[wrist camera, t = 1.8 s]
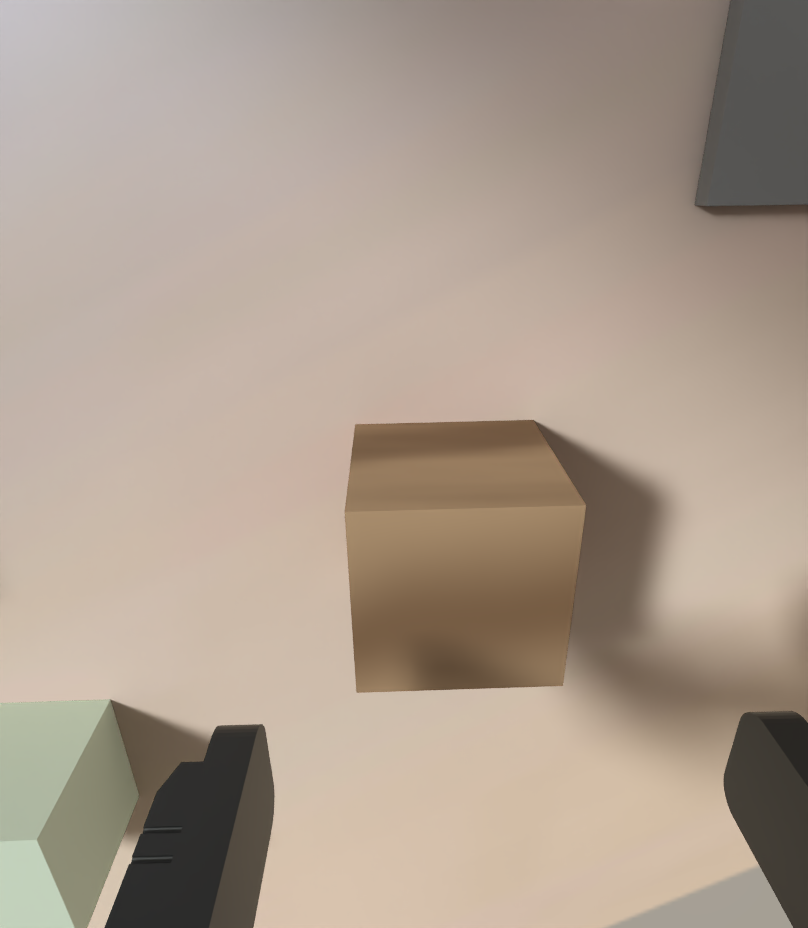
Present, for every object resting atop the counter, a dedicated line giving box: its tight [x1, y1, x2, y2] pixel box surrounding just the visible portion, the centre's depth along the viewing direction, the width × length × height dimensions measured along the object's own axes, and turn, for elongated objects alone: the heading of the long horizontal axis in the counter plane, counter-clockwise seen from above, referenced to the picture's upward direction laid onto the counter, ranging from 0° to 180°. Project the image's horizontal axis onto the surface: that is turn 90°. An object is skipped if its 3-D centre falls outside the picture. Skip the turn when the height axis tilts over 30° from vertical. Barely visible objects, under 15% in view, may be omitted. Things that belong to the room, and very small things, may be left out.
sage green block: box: [0, 699, 139, 928], centre depth 20 cm, size 5×5×5 cm
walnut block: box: [345, 420, 586, 693], centre depth 16 cm, size 5×5×5 cm
